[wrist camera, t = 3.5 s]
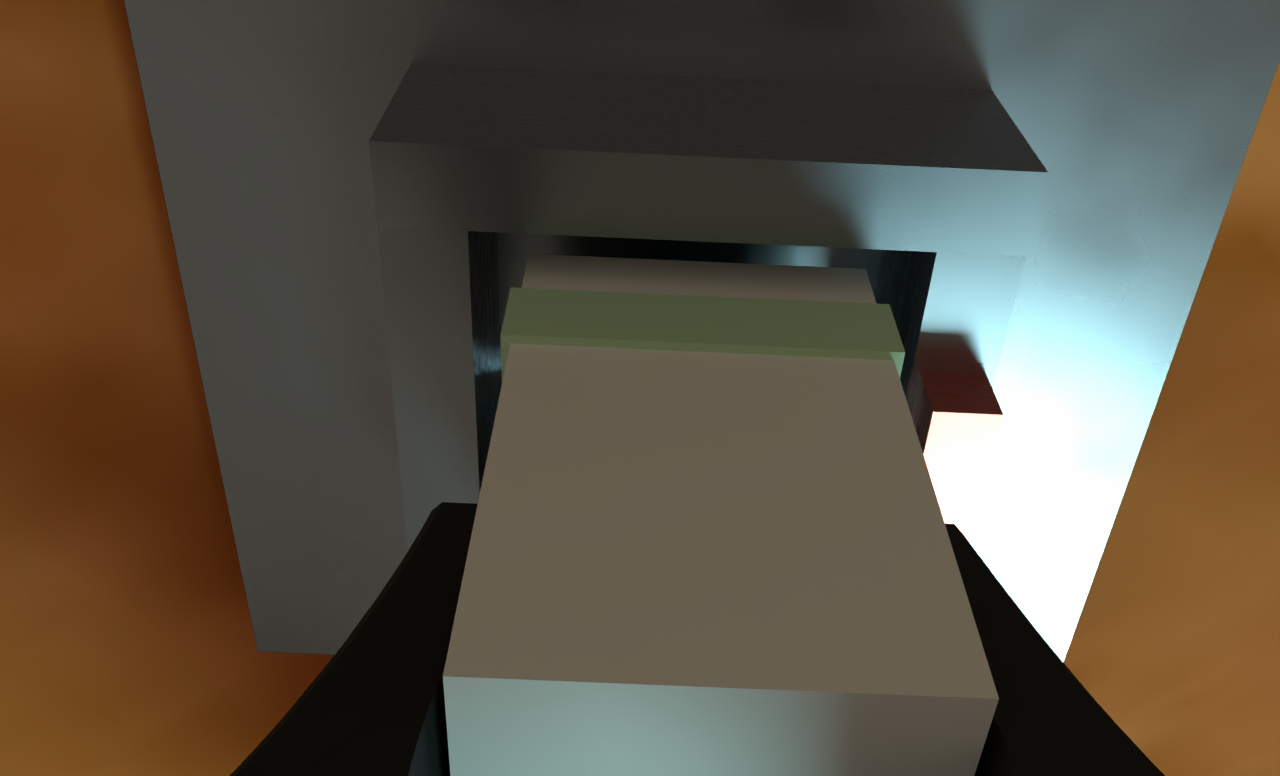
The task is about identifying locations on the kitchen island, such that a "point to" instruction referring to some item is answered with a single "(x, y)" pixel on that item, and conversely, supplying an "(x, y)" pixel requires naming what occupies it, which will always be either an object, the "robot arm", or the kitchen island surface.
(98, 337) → the kitchen island surface
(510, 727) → the pale grey block
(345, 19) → the stand base
